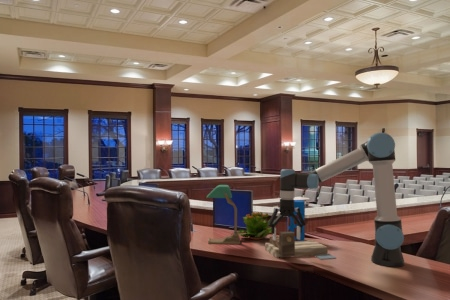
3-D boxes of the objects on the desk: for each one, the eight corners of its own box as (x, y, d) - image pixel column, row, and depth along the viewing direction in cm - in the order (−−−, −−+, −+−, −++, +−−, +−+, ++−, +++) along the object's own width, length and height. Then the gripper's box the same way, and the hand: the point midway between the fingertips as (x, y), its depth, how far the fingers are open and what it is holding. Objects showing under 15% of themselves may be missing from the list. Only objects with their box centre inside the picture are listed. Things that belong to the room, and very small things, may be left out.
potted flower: (245, 232, 247) (246, 207, 248) (279, 235, 239) (279, 209, 240) (234, 240, 224) (234, 212, 224) (271, 243, 216) (271, 215, 216)
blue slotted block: (304, 242, 220) (304, 202, 220) (287, 241, 222) (287, 201, 223) (304, 238, 230) (304, 200, 231) (287, 237, 233) (287, 199, 233)
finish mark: (336, 258, 185) (336, 257, 185) (320, 259, 183) (320, 258, 183) (328, 254, 192) (328, 253, 192) (313, 255, 190) (313, 254, 190)
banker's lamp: (240, 245, 211) (240, 186, 211) (205, 245, 211) (206, 186, 212) (239, 239, 226) (240, 184, 227) (207, 239, 227) (207, 184, 228)
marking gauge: (295, 255, 182) (295, 233, 182) (283, 256, 180) (283, 234, 181) (279, 246, 203) (279, 225, 203) (268, 246, 201) (268, 226, 201)
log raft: (327, 254, 193) (327, 247, 193) (276, 257, 185) (276, 250, 186) (313, 247, 208) (313, 240, 208) (265, 250, 201) (265, 242, 201)
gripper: (305, 197, 192) (304, 237, 191) (262, 198, 186) (261, 238, 185) (312, 199, 185) (311, 240, 184) (267, 199, 178) (266, 242, 178)
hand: (286, 239), depth 185 cm, fingers open, 13 cm apart
